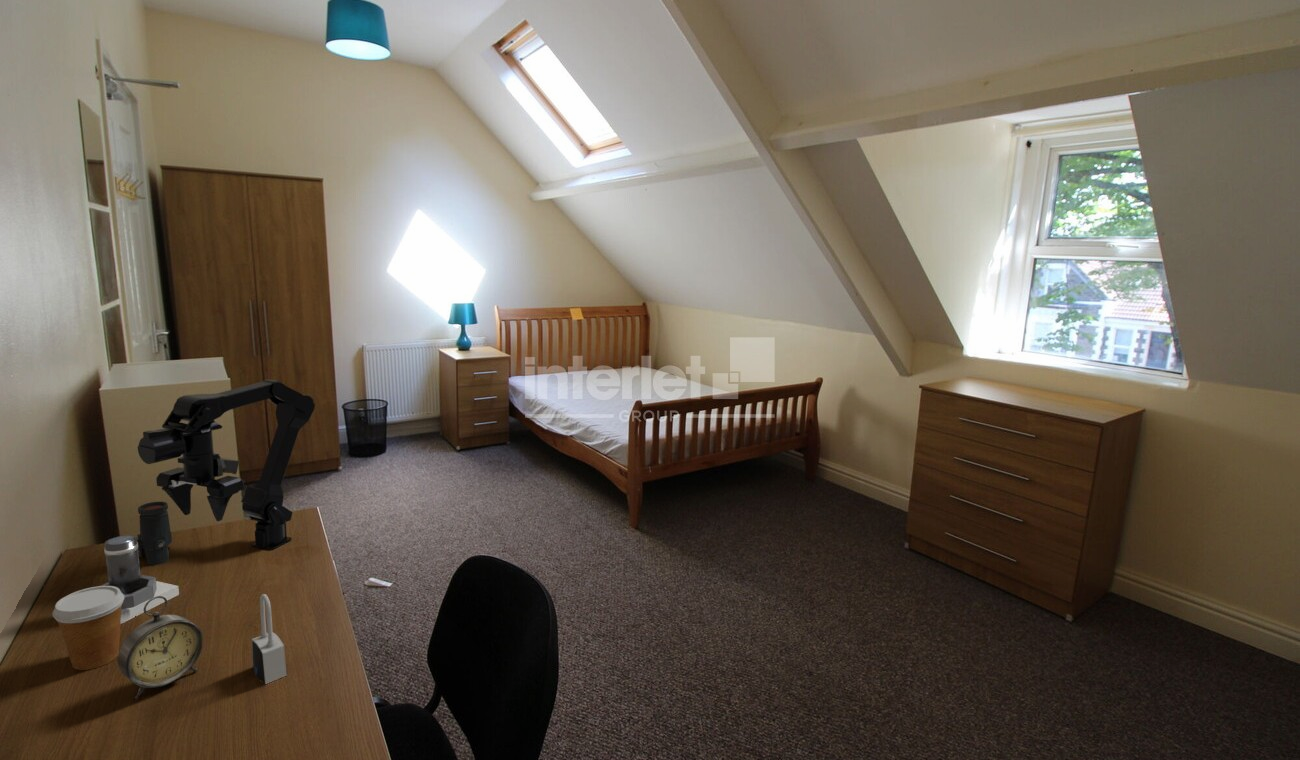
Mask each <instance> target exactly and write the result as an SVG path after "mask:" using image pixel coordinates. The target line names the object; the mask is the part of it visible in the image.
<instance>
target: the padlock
mask: <svg viewBox="0 0 1300 760" xmlns="http://www.w3.org/2000/svg"><path fill="white" fill-rule="evenodd" d="M271 605H272V604H271V602H270V599H269V597H268V595H267V594H265V593H262V594H261V595H260V597H259V610H260V613H259V615H260V627H261V633H260V636H257V637H253V638H251V655H252V656H251V657H252V661H251V662H252V669H253V671H254V675H255V678H256V677H257V678H256V679H258V680H259V681H260V680H261V681H263V682H262V684H264V683H265V684H267V683H269V682H272V681H274V680H277V679H279V678H281V677H284V676H287V668H286V667H287V665H286V656H285V655H286V654H285V645H284V643H283V642H282V640H281V639H280V637H279V636H278V635H277V634H276V633H275V632H273V620H272V619H273V618H272V606H271ZM266 623H267V624H266ZM284 678H285V677H284ZM261 681H260V682H261ZM277 681H278V680H277ZM272 683H273V682H272ZM265 684H264V685H265Z"/></svg>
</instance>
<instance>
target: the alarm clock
mask: <svg viewBox="0 0 1300 760" xmlns="http://www.w3.org/2000/svg"><path fill="white" fill-rule="evenodd" d="M156 598H162V599H164V600H165V602H164V606H163V608H162V609H161V610H160V611H157V610H156V611H155V612H153V613H148V612H147V611H146V607H147V605H148V604H149V602H150V601H152V600H154V599H156ZM167 606H168V600H167V599H166V598H165V597H163V596H156V597H154V598H152V599H150V600H149V601H148V602H147V603H146V604H145V606H144V614H145V615H146V616H149V617H151V619H148V620H145V621H144V622H143V623H141V624H140V625H138V626H137V627H135V628H134V629H133V630H132V631H131V632H130V633H129V634H128V635H127V636H126V638H125V639H124V640H123V642H122V644H121V647H119V654H118V656H117V664H118V665H117V666H118V669H119V671H120V672H121V673H122V675H123V676H124V677H125V678H127V679H128V680H129V681H130V682H132V683H133V685H136V686H138V687H139V688H138V691H137V693H136V695H135V696H134V700H139V699H140V696H141V694H142V693H143V692H144V691H145V689H154V688H159V687H164V686H167V685H169V684H170V683H173V682H175V681H177V680H179V679H180V678H181V677H182V676H184V675H185V674H187V673H188V671H192V672H194V673H197V672H198V668H197V667H194V665H195V664H196V662H197V661H198V659H199V657H200V655H201V653H202V652H203V651H202V650H203V646H204V636H203V632H202V630H201V628H200V627H199V626H198V625H197V624H195V623H194V622H192V621H190V620H189V619H188V618H185V617H183V616H181V615H177V614H162V615H161V613H162V612H164V611H165V610H166V608H167Z"/></svg>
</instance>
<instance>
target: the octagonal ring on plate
mask: <svg viewBox="0 0 1300 760" xmlns="http://www.w3.org/2000/svg"><path fill="white" fill-rule="evenodd" d="M140 575H141V585H142V589H140V590H138V591H136V592H134V593H132V594H127V595H124V601H123V603H122V605H121V624H120V625H122V624H124V623H126V622H127V621H129V620H132V619H133V618H136V617H137V616H140V615H141V614H143V613H144V606H145V604H146V603H147V602H148V601H149V600H150V599H152V598H154V597H156V596H163V597H165V598H166V599H167V601H169V600H171V599H173V598H175V597H178V596H179V595H180V590H179V587H180V586H179V585H176V584H175V585H174V584H170V583H166V582H162V581H158V580H157V579H156V577H155V576H151V575H145V574H140ZM100 586H109V581H108V582H106V583H104V584H101V585H100ZM163 603H164V604H165V600H164V599H162V598H156V599H154V600H152V601H150V602H149V604H148V605H147V607H146V612H147V611H149V610H152V609H153V608H155V607H157V606H159V605H161V604H163ZM144 614H145V613H144ZM135 616H136V617H135Z"/></svg>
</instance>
